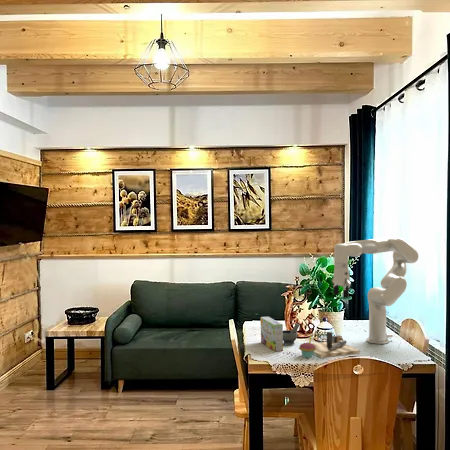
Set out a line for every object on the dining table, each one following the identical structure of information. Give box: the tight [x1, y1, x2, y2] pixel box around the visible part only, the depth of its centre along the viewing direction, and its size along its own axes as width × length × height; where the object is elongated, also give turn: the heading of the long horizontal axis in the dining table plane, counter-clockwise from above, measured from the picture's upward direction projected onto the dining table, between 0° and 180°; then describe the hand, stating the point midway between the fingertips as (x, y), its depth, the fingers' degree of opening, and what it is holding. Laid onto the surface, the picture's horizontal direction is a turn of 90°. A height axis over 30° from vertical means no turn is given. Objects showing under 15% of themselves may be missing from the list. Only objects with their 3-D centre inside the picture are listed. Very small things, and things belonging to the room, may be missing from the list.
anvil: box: [332, 334, 343, 343], centre depth 303 cm, size 5×2×3 cm, turn 111°
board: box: [312, 341, 361, 359], centre depth 290 cm, size 24×22×2 cm
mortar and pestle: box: [283, 322, 301, 346], centre depth 304 cm, size 11×9×12 cm
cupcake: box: [298, 334, 316, 358], centre depth 278 cm, size 9×8×12 cm
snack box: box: [259, 316, 284, 353], centre depth 298 cm, size 21×6×15 cm, turn 18°
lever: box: [326, 331, 347, 350], centre depth 289 cm, size 20×3×10 cm, turn 142°
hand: (341, 295), depth 299 cm, fingers open, 9 cm apart
